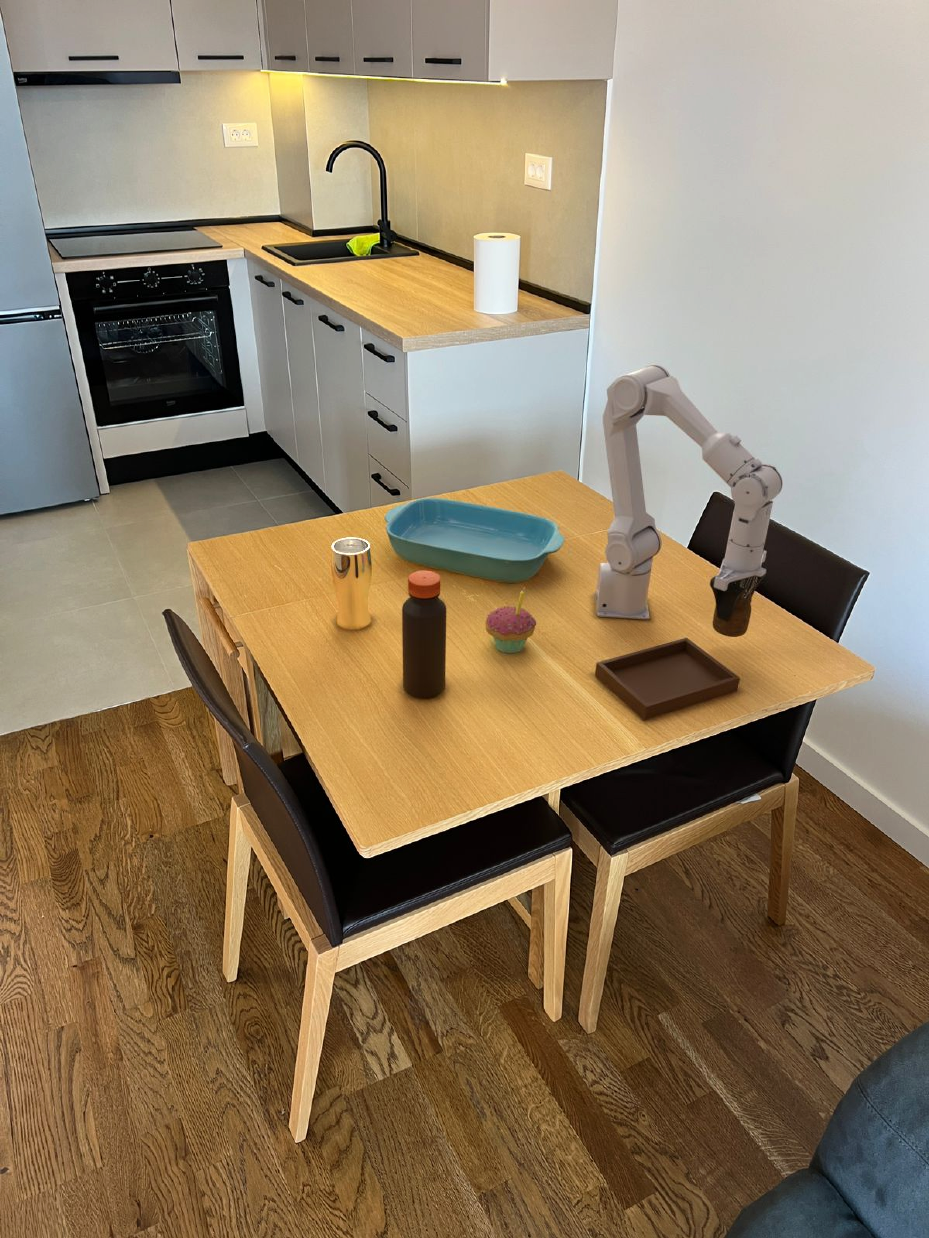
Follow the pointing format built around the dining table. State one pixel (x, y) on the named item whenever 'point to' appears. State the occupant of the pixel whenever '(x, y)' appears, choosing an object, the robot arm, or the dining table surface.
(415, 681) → the bottle
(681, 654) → the tray
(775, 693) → the dining table surface
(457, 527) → the casserole dish
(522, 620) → the cupcake
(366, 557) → the beer glass
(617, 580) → the robot arm
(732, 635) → the utensil holder
